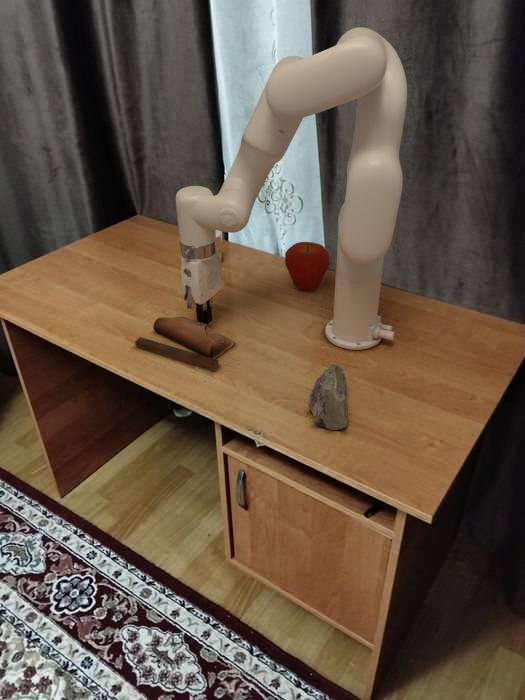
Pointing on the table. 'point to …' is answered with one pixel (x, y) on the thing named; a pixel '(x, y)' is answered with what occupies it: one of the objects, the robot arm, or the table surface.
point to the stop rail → (177, 354)
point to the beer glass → (219, 242)
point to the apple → (307, 264)
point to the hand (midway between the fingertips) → (204, 321)
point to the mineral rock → (330, 399)
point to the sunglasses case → (194, 335)
